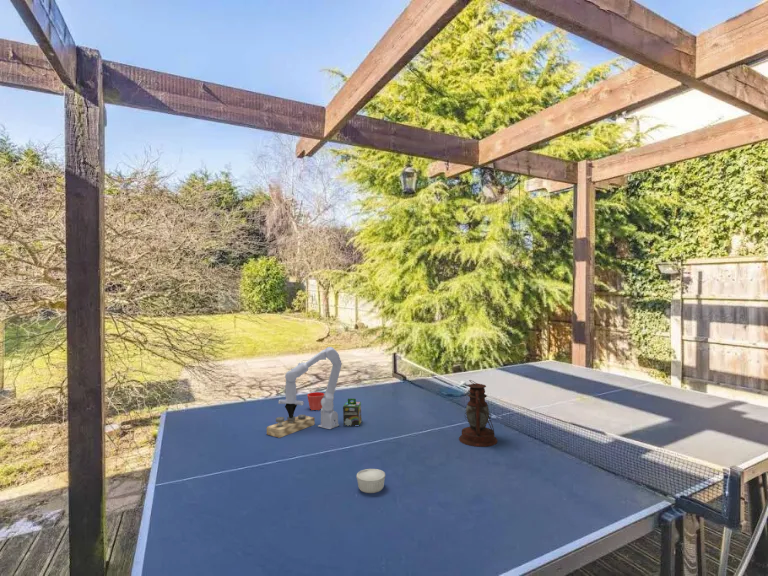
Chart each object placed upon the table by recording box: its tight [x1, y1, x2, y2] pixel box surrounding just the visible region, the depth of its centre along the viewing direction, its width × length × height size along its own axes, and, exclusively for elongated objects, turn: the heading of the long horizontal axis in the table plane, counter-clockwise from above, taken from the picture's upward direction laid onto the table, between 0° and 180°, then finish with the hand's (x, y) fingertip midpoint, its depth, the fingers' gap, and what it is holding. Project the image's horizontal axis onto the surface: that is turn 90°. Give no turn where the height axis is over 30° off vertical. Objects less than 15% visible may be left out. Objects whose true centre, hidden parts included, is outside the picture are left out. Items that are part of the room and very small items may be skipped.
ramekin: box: [356, 468, 386, 494], centre depth 165 cm, size 11×11×5 cm
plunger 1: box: [275, 416, 285, 427], centre depth 230 cm, size 4×4×5 cm
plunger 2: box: [286, 415, 296, 423], centre depth 236 cm, size 4×4×5 cm
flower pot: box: [307, 391, 325, 411], centre depth 276 cm, size 11×11×10 cm
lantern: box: [458, 379, 498, 448], centre depth 215 cm, size 19×19×30 cm
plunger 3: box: [297, 414, 307, 419], centre depth 243 cm, size 4×4×5 cm
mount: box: [266, 415, 316, 439], centre depth 236 cm, size 26×10×4 cm, turn 145°
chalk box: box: [342, 398, 363, 427], centre depth 244 cm, size 9×9×15 cm
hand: (291, 417), depth 236 cm, fingers closed, pressing on plunger 2
